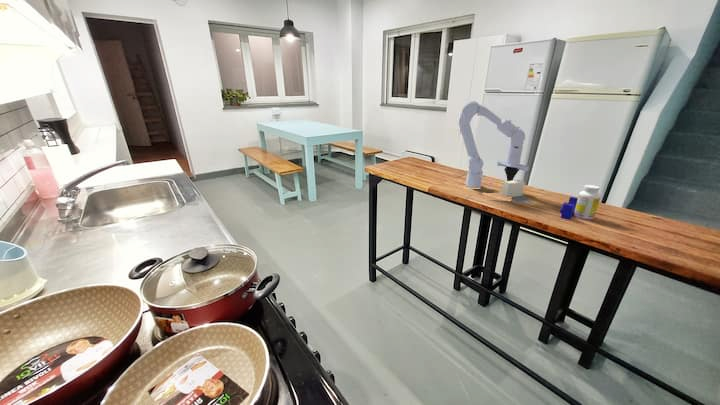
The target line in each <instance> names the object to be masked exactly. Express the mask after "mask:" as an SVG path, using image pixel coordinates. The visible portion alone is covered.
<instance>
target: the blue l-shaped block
mask: <svg viewBox="0 0 720 405" xmlns="http://www.w3.org/2000/svg"><path fill="white" fill-rule="evenodd" d="M577 200H578V197H575V196H570V197H569V201H568V202H563V204H562V206H561V209H560V211H559V213H561V215H560V218H561V219H565V220H568V221H570V220H571V218H572V217H573V216H574V211H575V208H576V204H577ZM572 215H573V216H572Z"/></svg>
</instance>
